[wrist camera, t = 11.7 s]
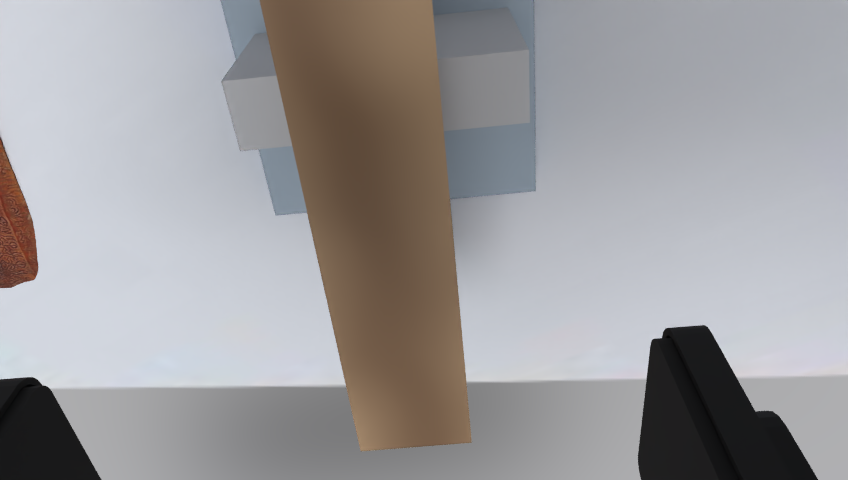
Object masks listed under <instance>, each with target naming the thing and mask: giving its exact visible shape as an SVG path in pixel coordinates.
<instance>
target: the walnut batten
mask: <svg viewBox="0 0 848 480" xmlns="http://www.w3.org/2000/svg"><path fill="white" fill-rule="evenodd" d="M260 5H261V9H262V14H263V18H264V22H265V27H266V31H267V36H268V40H269V45H270V49H271V54H272V58H273V63H274V67H275V71H276V76H277V80H278V85H279V89H280V94H281V98H282V103H283V107H284V112H285V116H286V120H287V125H288V129H289V134H290V138H291V143H292V147H293V152H294V156H295V160H296V165H297V169H298V174H299V178H300V183H301V187H302V192H303V196H304V201H305V205H306V209H307V214H308V218H309V223H310V227H311V232H312V236H313V241H314V245H315V249H316V254H317V258H318V263H319V267H320V272H321V276H322V281H323V285H324V290H325V294H326V298H327V303H328V307H329V312H330V316H331V321H332V325H333V330H334V334H335V338H336V343H337V347H338V352H339V356H340V361H341V365H342V370H343V374H344V379H345V383H346V387H347V392H348V396H349V400H350V405H351V409H352V414H353V419H354V423H355V427H356V432H357V436H358V441H359V445H360V450H361V451H370V450H383V449H395V448H407V447H421V446H434V445H446V444H459V443H471V431H470V419H469V408H468V397H467V386H466V374H465V363H464V352H463V341H462V330H461V319H460V307H459V296H458V285H457V274H456V263H455V251H454V240H453V229H452V218H451V207H450V195H449V184H448V173H447V162H446V151H445V139H444V128H443V117H442V106H441V95H440V84H439V72H438V61H437V50H436V39H435V28H434V16H433V5H432V0H260Z"/></svg>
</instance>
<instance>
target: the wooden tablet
mask: <svg viewBox="0 0 848 480" xmlns="http://www.w3.org/2000/svg"><path fill="white" fill-rule="evenodd" d="M37 272H38V261H37V249H36V239H35V232H34V227H33V221H32V218H31V215H30V212H29V209H28V207H27V204H26V201H25V199H24V196H23V194H22V191H21V189H20V187H19V185H18V182H17V180H16V177H15V175H14V172H13V170H12V168H11V166H10V163H9V160H8V158H7V155H6V153H5V150H4V148H3V145H2V142H1V140H0V288H11V287H14V286H16V285H18V284H20V283H23V282H27V281H31V280H34V279H35V278H36V275H37Z"/></svg>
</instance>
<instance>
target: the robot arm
mask: <svg viewBox="0 0 848 480" xmlns="http://www.w3.org/2000/svg"><path fill="white" fill-rule="evenodd" d="M638 465H639V472H640V477H641V480H818V479H817V477H816V475H815V474H814V472H813V470H812V469H811V467H810V465H809V464H808V462H807V460H806V459H805V457H804V455H803V454H802V452H801V450H800V449H799V447H798V445H797V443H796V442H795V440H794V438H793V437H792V435H791V433H790V432H789V430H788V428H787V427H786V425H785V424H784V423H783V421H782V420H781V418H780V417H779V416H778V415H777V414H775V413H774V412H772V411H758V412H755V410H754V408H753V407H752V405H751V403H750V401H749V399H748V398H747V396H746V394H745V392H744V390H743V389H742V387H741V385H740V383H739V381H738V380H737V378H736V376H735V374H734V372H733V371H732V369H731V367H730V365H729V363H728V362H727V360H726V358H725V356H724V354H723V353H722V351H721V349H720V347H719V345H718V344H717V342H716V340H715V338H714V336H713V335H712V333H711V331H710V330H709V329H708V327H706V326H705V325H702V326H689V327H676V328H666V329H665V330H664V332H663V336H662V338H660V339H653V340H652V342H651V346H650V355H649V364H648V373H647V382H646V391H645V400H644V408H643V417H642V427H641V435H640V444H639V453H638ZM0 480H101V479H100V477H99V475H98V473H97V471H96V470H95V468H94V466H93V465H92V463H91V461H90V459H89V457H88V455H87V454H86V452H85V450H84V448H83V446H82V445H81V443H80V441H79V439H78V438H77V436H76V434H75V432H74V430H73V429H72V427H71V425H70V423H69V421H68V420H67V418H66V416H65V414H64V413H63V411H62V409H61V407H60V406H59V404H58V402H57V400H56V398H55V397H54V395H53V393H52V391H51V390H50V389H49V388H48V387H47V386H42V384H41V383H40V382H39V381H38V380H37V379H35V378H33V377H27V378H14V379H1V380H0Z"/></svg>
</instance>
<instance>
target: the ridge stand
mask: <svg viewBox="0 0 848 480" xmlns="http://www.w3.org/2000/svg"><path fill="white" fill-rule="evenodd" d="M221 3H222V7H223V11H224V15H225V19H226V23H227V27H228V31H229V35H230V39H231V43H232V47H233V50H234V54H235V58H236V61H235V63H234V64H233V66H232V67H231V68H230V70H229V71H228V73H227V74H226V75H225V77H224V78H223V80H222V81H221V82H222V86H223V90H224V93H225V97H226V101H227V104H228V108H229V112H230V115H231V119H232V123H233V126H234V130H235V134H236V137H237V141H238V145H239V148H240V151H246V150H257V149H259V152H260V156H261V160H262V164H263V168H264V172H265V176H266V180H267V184H268V188H269V192H270V196H271V199H272V203H273V207H274V211H275V215H285V214H296V213H307V209H306V205H305V201H304V196H303V192H302V187H301V183H300V178H299V174H298V169H297V165H296V160H295V156H294V152H293V147H292V143H291V138H290V134H289V129H288V125H287V120H286V116H285V112H284V107H283V103H282V98H281V94H280V89H279V85H278V80H277V76H276V71H275V67H274V63H273V58H272V54H271V49H270V45H269V40H268V36H267V31H266V27H265V22H264V18H263V14H262V9H261V5H260V0H221ZM432 5H433V16H434V28H435V39H436V50H437V61H438V72H439V84H440V95H441V106H442V117H443V128H444V139H445V151H446V162H447V173H448V184H449V195H450V199H456V198H467V197H477V196H488V195H499V194H509V193H520V192H531V191H536V180H535V75H534V0H432Z"/></svg>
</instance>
